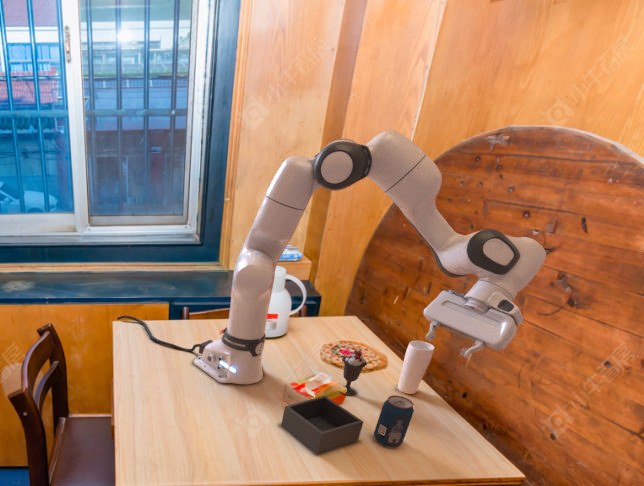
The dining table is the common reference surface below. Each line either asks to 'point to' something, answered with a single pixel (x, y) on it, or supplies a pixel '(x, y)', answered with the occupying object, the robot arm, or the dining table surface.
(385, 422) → the soda can
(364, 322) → the dining table surface
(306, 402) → the tub
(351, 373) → the sundae
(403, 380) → the white tall cylinder
